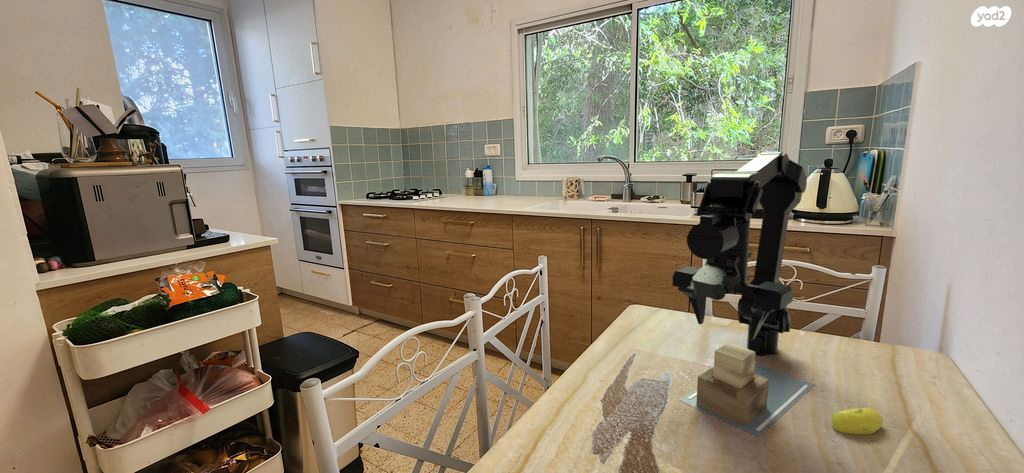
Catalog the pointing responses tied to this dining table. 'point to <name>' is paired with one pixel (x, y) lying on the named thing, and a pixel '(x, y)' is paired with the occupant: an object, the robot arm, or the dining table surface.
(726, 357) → the oak block
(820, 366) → the dining table surface
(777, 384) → the board
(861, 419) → the yellow oval piece
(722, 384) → the base block
